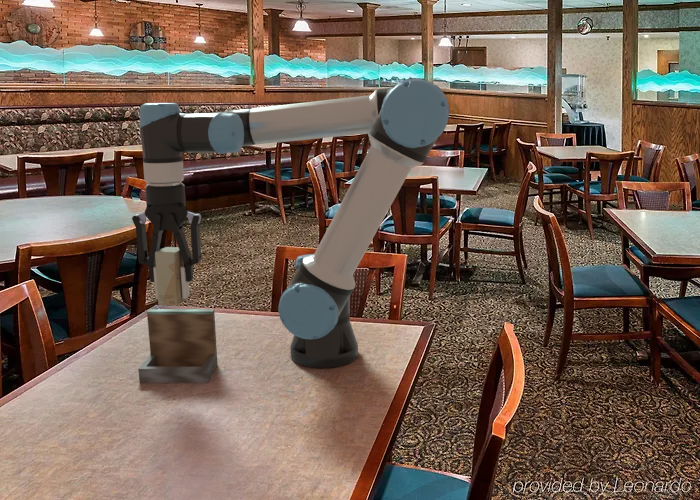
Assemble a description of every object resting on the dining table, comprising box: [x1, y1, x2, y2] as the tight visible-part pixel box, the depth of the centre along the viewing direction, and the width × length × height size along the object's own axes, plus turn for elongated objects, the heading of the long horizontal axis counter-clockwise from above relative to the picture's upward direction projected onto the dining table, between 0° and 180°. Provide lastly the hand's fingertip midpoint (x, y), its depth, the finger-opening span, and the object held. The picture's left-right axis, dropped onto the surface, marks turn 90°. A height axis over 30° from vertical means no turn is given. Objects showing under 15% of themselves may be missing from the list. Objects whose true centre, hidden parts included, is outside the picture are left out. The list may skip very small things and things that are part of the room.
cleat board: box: [137, 308, 218, 384], centre depth 142 cm, size 14×10×13 cm
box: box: [155, 246, 188, 306], centre depth 138 cm, size 5×4×11 cm
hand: (172, 296), depth 139 cm, fingers closed on box, 5 cm apart
